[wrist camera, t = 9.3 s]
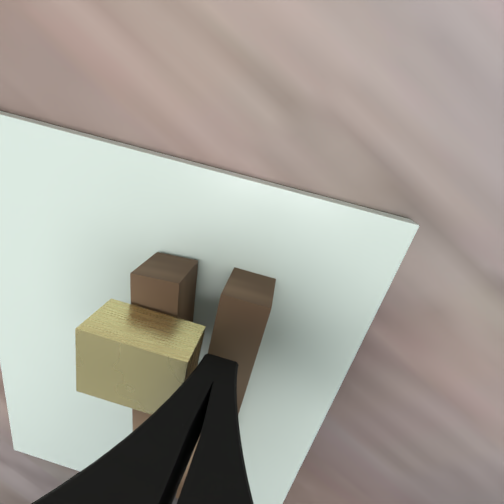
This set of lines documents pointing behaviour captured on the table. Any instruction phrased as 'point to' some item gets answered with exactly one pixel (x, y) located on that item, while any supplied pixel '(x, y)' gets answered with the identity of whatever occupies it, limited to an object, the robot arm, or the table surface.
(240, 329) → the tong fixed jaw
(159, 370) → the pale yellow rectangular block
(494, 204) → the table surface
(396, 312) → the table surface
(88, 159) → the serving board
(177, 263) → the tong jaw
